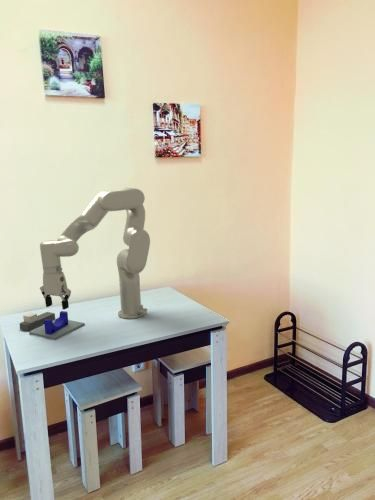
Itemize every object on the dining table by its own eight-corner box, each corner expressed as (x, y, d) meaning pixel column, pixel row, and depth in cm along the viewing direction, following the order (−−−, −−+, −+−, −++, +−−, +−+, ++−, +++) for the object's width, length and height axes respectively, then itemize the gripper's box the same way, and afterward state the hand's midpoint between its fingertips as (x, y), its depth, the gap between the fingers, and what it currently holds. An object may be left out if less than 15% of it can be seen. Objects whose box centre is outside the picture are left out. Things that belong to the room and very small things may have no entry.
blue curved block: (60, 323, 187) (58, 310, 186) (68, 324, 186) (67, 311, 185) (42, 333, 176) (41, 320, 175) (51, 334, 175) (49, 321, 174)
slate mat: (84, 325, 187) (84, 323, 187) (55, 340, 172) (54, 337, 171) (60, 320, 194) (59, 318, 194) (29, 334, 179) (29, 332, 178)
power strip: (55, 319, 195) (54, 307, 194) (28, 331, 182) (26, 318, 180) (47, 317, 198) (46, 305, 197) (20, 329, 184) (18, 316, 183)
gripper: (73, 268, 177) (78, 306, 180) (44, 265, 185) (49, 302, 188) (61, 273, 170) (66, 312, 174) (31, 270, 178) (36, 307, 182)
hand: (57, 307), depth 181 cm, fingers open, 9 cm apart
